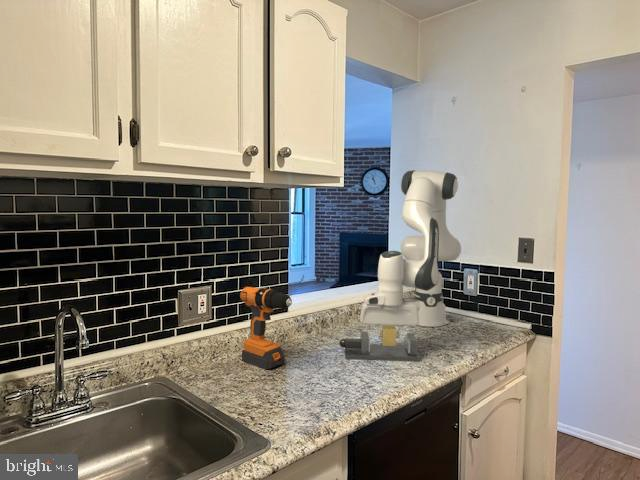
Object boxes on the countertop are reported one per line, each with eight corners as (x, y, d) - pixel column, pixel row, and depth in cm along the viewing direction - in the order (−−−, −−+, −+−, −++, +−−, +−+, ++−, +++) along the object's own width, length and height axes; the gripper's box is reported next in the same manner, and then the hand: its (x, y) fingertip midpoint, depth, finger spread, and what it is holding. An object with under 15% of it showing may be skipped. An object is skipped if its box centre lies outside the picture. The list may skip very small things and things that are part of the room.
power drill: (300, 370, 139) (301, 291, 137) (283, 376, 133) (284, 295, 131) (253, 354, 153) (254, 282, 151) (237, 359, 147) (237, 285, 145)
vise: (344, 347, 162) (345, 330, 161) (413, 349, 160) (414, 332, 160) (344, 358, 150) (345, 340, 149) (419, 361, 148) (420, 342, 148)
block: (381, 341, 157) (381, 324, 156) (394, 341, 157) (394, 325, 156) (382, 345, 152) (383, 328, 152) (395, 345, 152) (396, 328, 152)
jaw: (339, 344, 160) (339, 330, 160) (368, 345, 160) (368, 331, 159) (339, 352, 151) (339, 338, 151) (369, 353, 151) (370, 339, 150)
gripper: (418, 297, 156) (417, 335, 157) (360, 295, 157) (359, 333, 158) (421, 300, 150) (420, 340, 151) (361, 299, 151) (360, 338, 152)
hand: (388, 337), depth 154 cm, fingers closed on block, 4 cm apart
